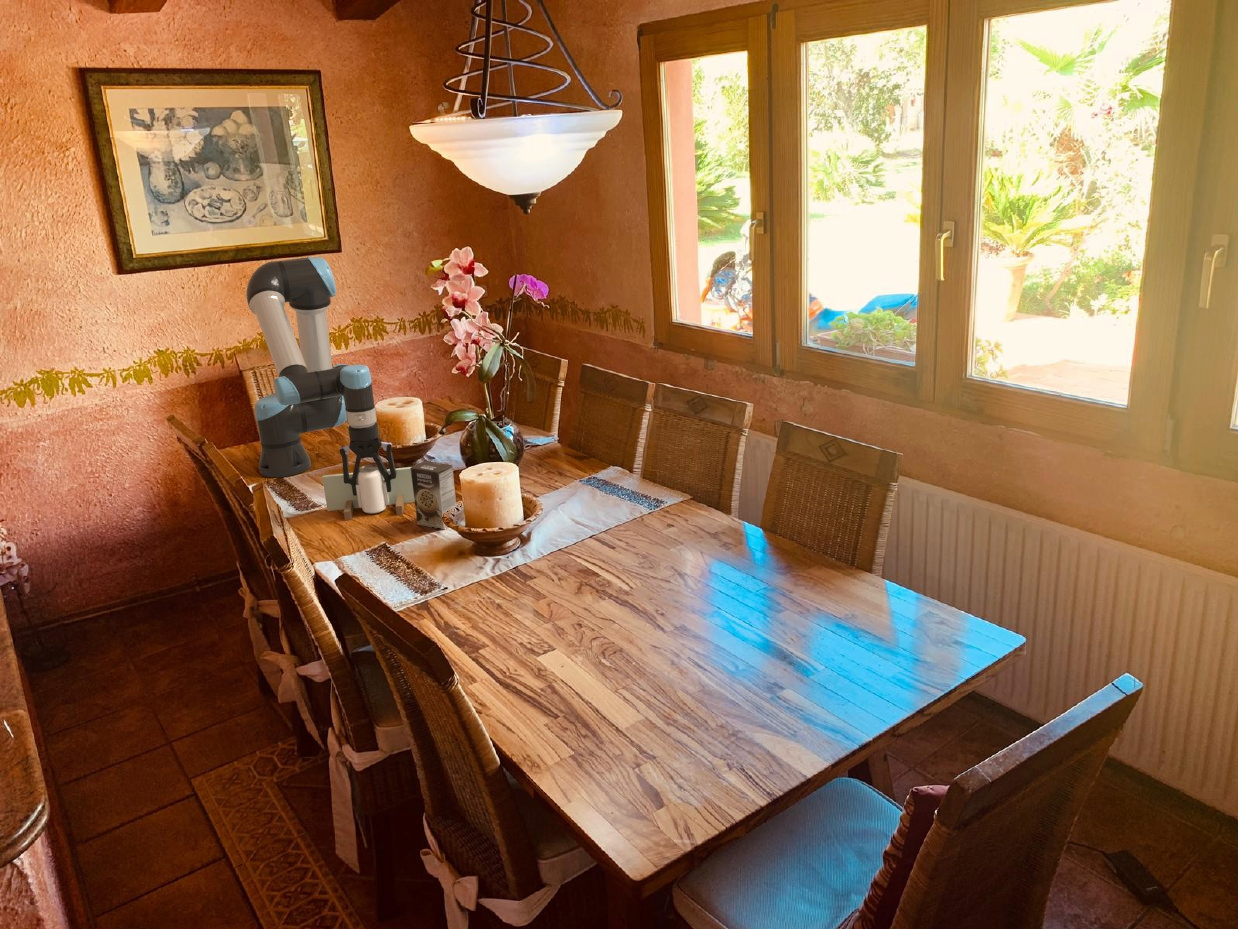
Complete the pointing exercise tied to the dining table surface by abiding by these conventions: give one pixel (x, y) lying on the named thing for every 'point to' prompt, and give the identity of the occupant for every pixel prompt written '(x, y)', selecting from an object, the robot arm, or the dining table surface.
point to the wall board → (343, 497)
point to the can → (371, 489)
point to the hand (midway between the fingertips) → (374, 504)
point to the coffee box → (433, 492)
